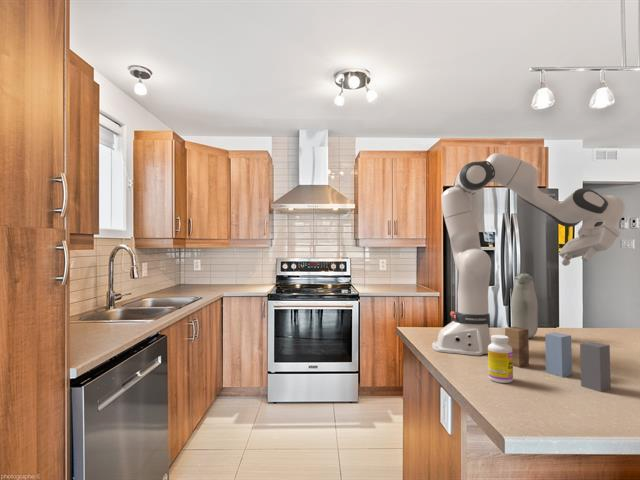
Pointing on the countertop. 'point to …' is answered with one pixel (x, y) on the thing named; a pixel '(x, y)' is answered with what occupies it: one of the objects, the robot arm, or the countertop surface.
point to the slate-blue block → (558, 354)
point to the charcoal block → (595, 366)
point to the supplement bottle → (500, 360)
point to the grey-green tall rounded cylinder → (524, 304)
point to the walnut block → (518, 345)
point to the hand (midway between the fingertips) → (574, 262)
